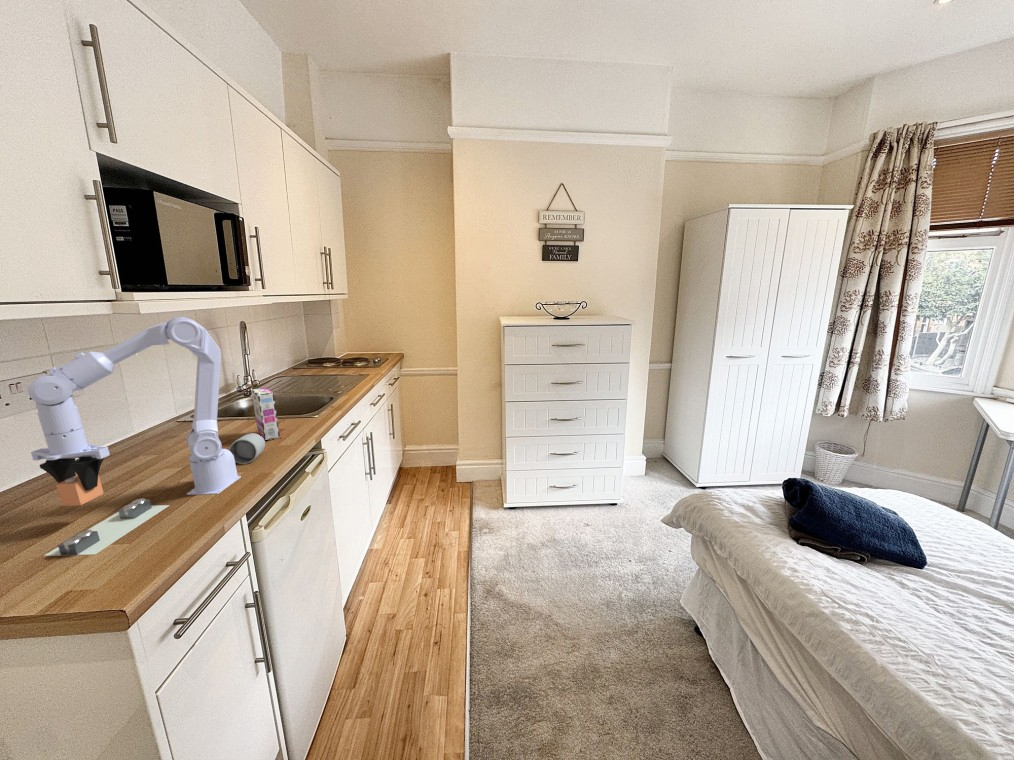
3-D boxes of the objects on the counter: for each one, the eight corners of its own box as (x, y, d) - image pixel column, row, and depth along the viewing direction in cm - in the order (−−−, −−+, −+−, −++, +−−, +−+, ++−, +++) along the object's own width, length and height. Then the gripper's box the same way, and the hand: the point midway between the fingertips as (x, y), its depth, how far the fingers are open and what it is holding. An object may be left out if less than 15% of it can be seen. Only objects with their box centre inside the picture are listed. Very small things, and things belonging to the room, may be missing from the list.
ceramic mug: (268, 451, 127) (264, 429, 125) (259, 462, 119) (254, 438, 118) (231, 456, 125) (226, 433, 123) (219, 467, 117) (213, 442, 115)
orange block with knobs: (86, 493, 91) (79, 471, 90) (103, 493, 91) (97, 470, 90) (62, 505, 86) (55, 481, 85) (80, 505, 86) (74, 481, 85)
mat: (128, 507, 96) (127, 506, 96) (170, 506, 96) (169, 505, 96) (44, 557, 78) (43, 555, 78) (95, 556, 78) (94, 554, 78)
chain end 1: (84, 540, 83) (81, 530, 82) (100, 540, 83) (97, 529, 82) (60, 555, 78) (57, 544, 77) (77, 554, 78) (73, 543, 77)
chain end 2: (138, 508, 95) (136, 498, 94) (152, 507, 95) (149, 498, 94) (120, 519, 90) (117, 509, 90) (134, 518, 90) (131, 508, 90)
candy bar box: (281, 437, 139) (274, 392, 135) (265, 441, 136) (257, 395, 132) (273, 429, 147) (266, 386, 143) (257, 433, 144) (250, 389, 140)
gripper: (6, 437, 81) (26, 498, 84) (78, 436, 81) (96, 497, 84) (45, 426, 88) (63, 482, 91) (111, 424, 88) (126, 481, 91)
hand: (81, 488), depth 88 cm, fingers closed on orange block with knobs, 4 cm apart
